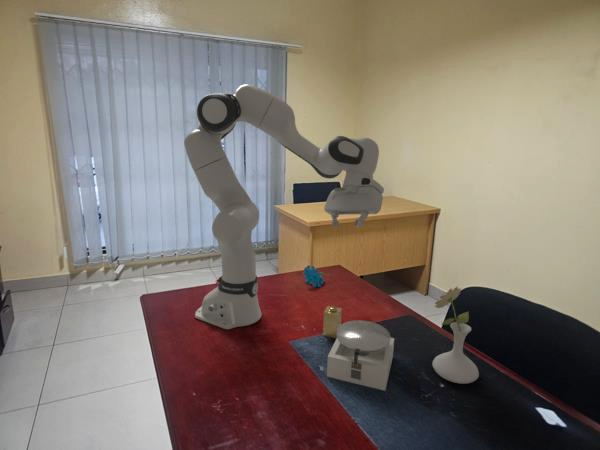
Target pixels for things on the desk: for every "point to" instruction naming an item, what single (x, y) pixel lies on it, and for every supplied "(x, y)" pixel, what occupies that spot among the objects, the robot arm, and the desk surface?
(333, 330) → the brass weight
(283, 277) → the desk surface
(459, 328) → the flower in vase
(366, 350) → the scale pan
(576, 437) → the desk surface
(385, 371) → the base
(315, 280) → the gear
